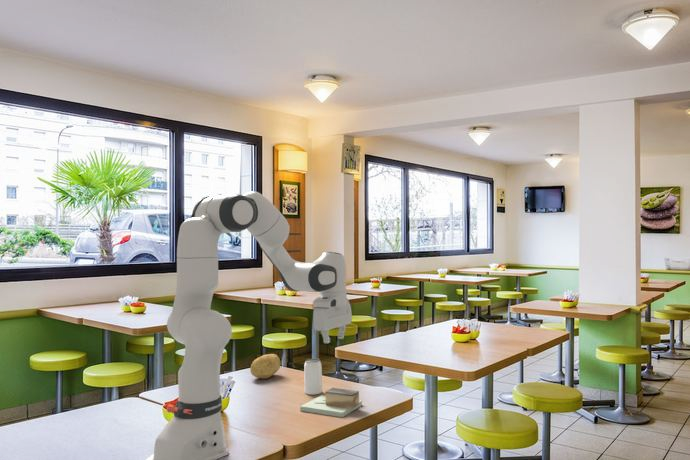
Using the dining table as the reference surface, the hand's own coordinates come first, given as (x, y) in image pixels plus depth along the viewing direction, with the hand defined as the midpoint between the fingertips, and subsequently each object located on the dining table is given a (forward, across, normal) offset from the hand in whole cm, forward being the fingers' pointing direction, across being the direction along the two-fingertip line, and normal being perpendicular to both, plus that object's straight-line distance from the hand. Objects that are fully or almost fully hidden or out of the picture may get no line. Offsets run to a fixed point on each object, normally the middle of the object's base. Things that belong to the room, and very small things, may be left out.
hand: (334, 340), depth 188 cm
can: (+23, -12, -16) cm, 30 cm away
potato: (+23, -23, -46) cm, 56 cm away
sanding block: (+21, +1, +3) cm, 21 cm away
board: (+22, +1, -1) cm, 23 cm away
